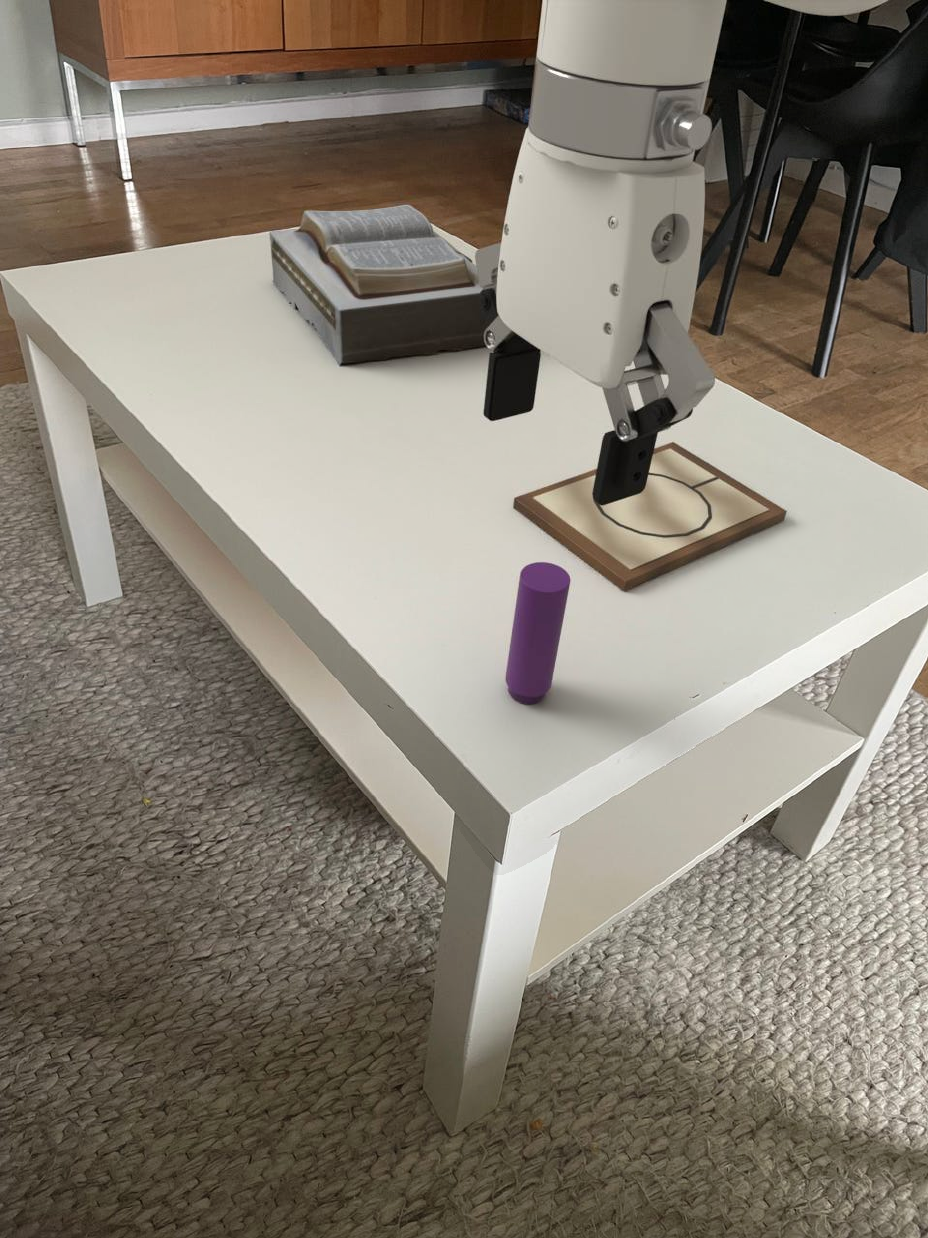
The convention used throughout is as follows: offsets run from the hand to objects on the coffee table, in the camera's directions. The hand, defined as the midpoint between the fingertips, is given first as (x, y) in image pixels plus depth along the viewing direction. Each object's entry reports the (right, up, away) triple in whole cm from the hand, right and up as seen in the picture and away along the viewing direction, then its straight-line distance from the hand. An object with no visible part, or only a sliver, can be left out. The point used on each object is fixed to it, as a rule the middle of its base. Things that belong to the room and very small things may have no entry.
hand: (560, 453), depth 55 cm
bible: (-15, +27, +63) cm, 70 cm away
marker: (-1, -14, +15) cm, 20 cm away
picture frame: (+11, 0, +34) cm, 36 cm away
